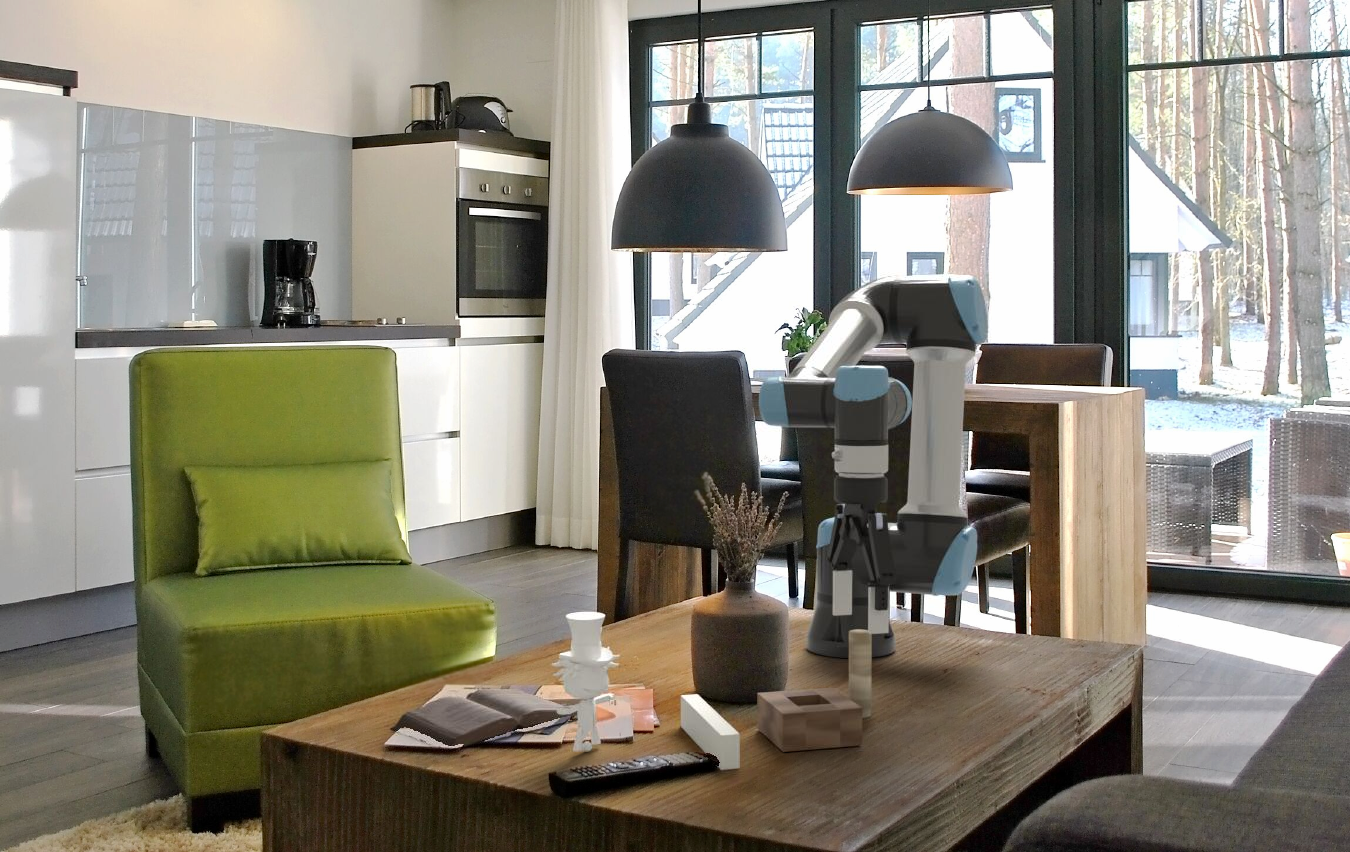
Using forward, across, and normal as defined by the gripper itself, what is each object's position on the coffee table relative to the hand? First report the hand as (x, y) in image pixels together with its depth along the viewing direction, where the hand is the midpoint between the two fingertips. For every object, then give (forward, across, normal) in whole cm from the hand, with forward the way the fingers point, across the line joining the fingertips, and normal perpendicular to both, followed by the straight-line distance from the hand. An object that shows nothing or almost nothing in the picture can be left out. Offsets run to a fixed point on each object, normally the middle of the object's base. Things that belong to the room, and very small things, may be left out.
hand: (859, 623), depth 199 cm
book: (+14, -11, -51) cm, 54 cm away
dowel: (+13, 0, 0) cm, 13 cm away
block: (+13, +9, -11) cm, 19 cm away
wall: (+14, +9, -25) cm, 29 cm away
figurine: (+14, +7, -41) cm, 43 cm away
